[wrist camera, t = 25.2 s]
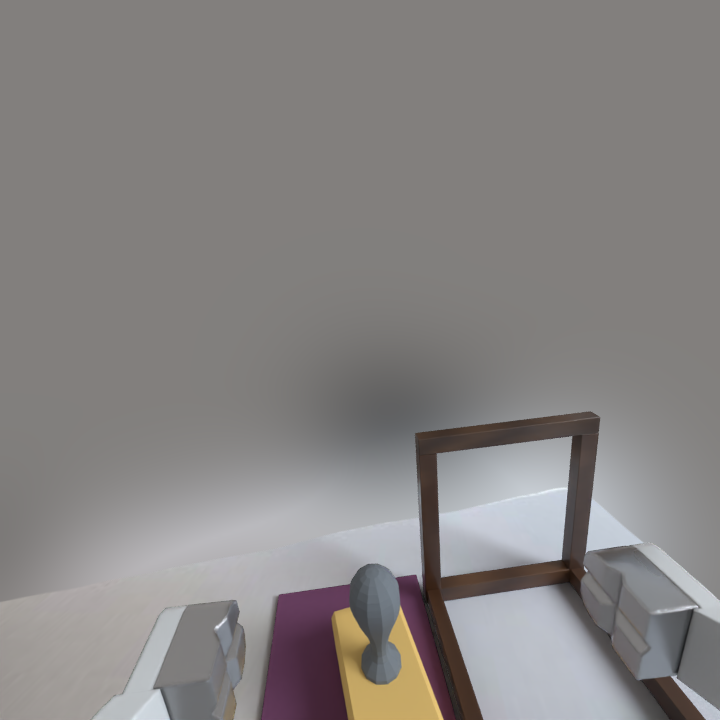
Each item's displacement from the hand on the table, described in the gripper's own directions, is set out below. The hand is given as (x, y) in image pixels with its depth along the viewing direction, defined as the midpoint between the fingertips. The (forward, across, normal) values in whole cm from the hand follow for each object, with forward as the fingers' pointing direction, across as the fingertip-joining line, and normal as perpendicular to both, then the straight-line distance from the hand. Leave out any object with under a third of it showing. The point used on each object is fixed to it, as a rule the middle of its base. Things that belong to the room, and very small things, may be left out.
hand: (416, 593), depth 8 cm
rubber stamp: (+12, 0, +25) cm, 28 cm away
